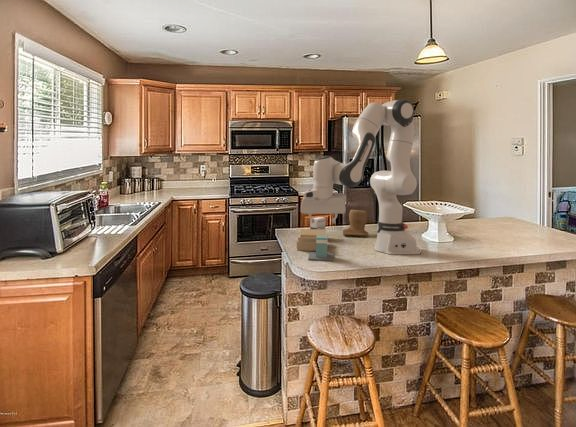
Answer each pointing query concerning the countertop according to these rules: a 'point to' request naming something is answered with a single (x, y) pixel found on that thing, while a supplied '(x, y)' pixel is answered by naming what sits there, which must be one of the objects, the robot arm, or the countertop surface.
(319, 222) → the ink box
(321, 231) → the carton
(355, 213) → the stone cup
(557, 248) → the countertop surface
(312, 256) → the mat
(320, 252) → the tea box
